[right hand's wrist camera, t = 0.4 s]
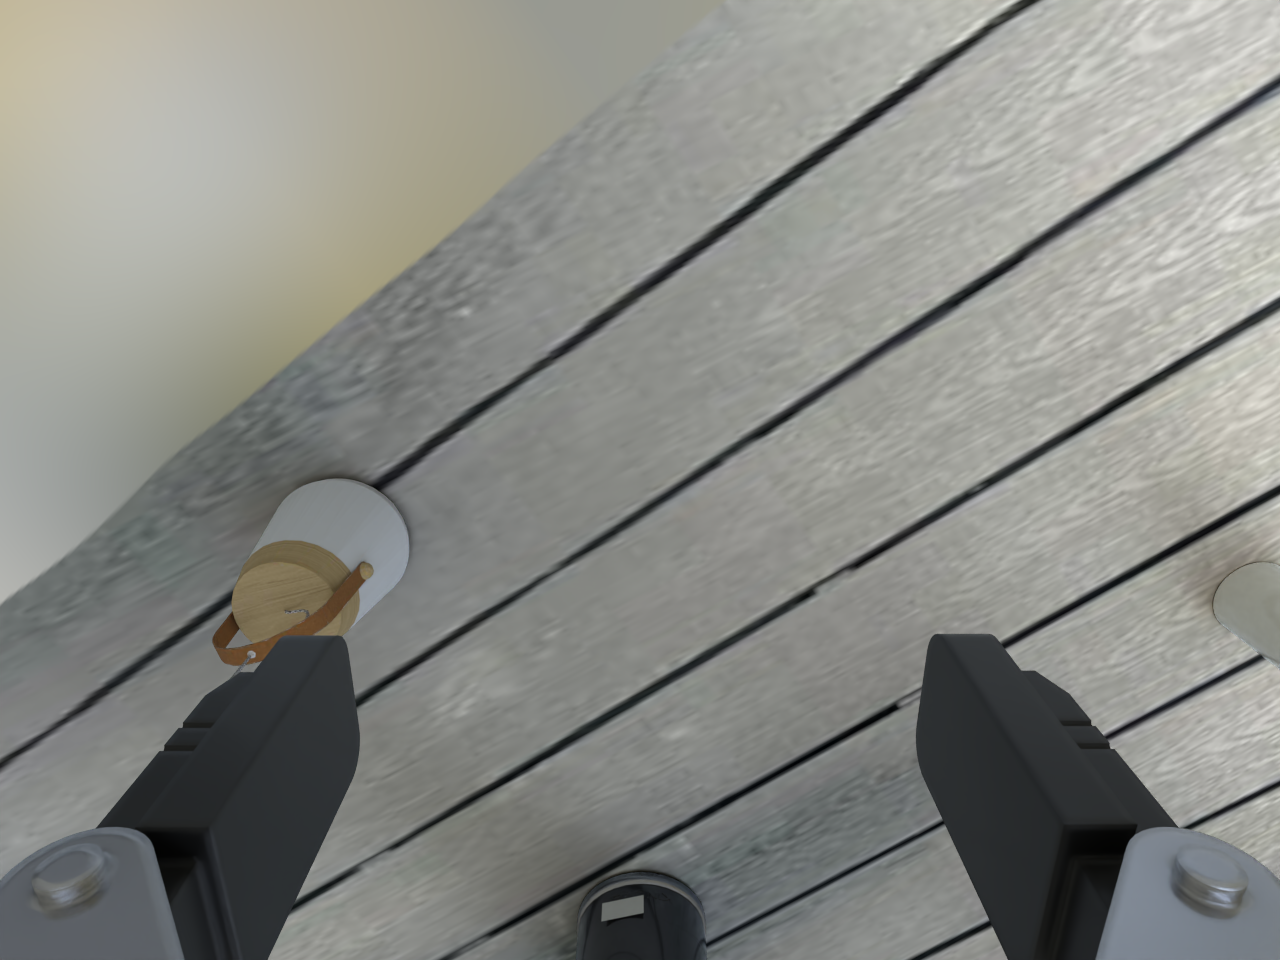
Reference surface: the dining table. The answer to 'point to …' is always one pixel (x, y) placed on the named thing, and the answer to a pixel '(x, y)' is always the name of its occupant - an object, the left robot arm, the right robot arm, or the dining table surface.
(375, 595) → the pendant light
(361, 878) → the dining table surface
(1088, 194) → the dining table surface
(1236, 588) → the bottle
